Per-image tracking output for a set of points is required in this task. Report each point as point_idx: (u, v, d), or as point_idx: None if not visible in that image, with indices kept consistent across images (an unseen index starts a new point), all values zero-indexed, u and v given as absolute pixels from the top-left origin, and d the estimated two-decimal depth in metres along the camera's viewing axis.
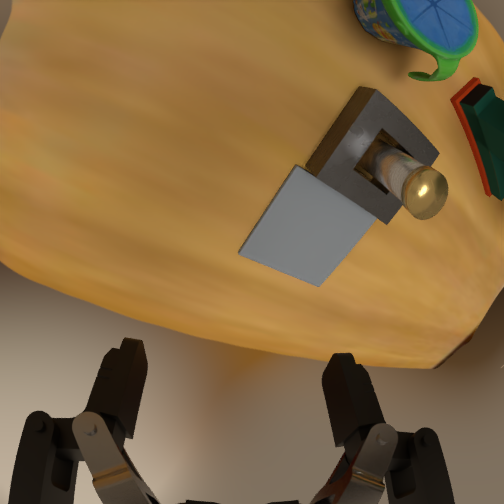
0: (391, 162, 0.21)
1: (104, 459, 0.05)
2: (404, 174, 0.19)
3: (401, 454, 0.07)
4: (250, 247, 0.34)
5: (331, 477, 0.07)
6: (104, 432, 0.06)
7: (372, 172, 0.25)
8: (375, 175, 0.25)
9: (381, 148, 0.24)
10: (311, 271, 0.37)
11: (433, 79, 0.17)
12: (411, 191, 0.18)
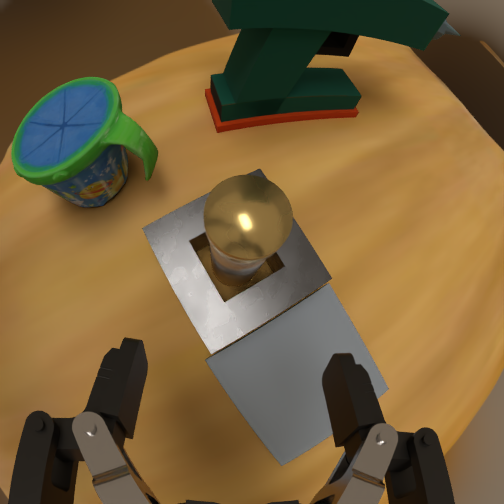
0: (212, 251, 0.17)
1: (104, 459, 0.05)
2: None
3: (401, 454, 0.07)
4: (280, 451, 0.21)
5: (331, 477, 0.07)
6: (104, 432, 0.06)
7: (237, 278, 0.20)
8: (239, 276, 0.19)
9: None
10: None
11: (140, 153, 0.19)
12: (222, 245, 0.13)
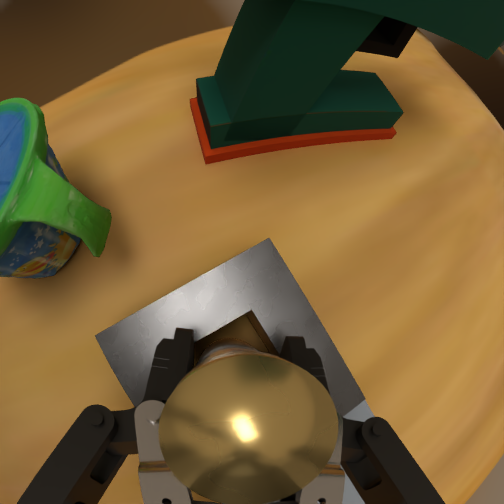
0: None
1: (158, 449, 0.06)
2: None
3: (348, 443, 0.07)
4: None
5: None
6: None
7: None
8: None
9: None
10: None
11: (72, 229, 0.11)
12: (202, 491, 0.05)
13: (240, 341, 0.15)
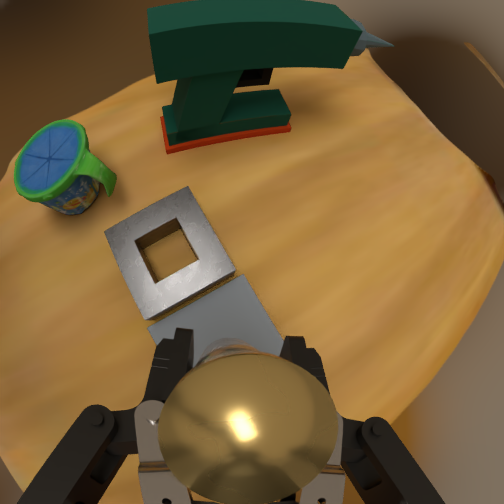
0: None
1: (158, 449, 0.06)
2: None
3: (348, 443, 0.07)
4: None
5: None
6: None
7: None
8: None
9: None
10: None
11: (100, 179, 0.26)
12: (201, 490, 0.05)
13: (240, 341, 0.15)
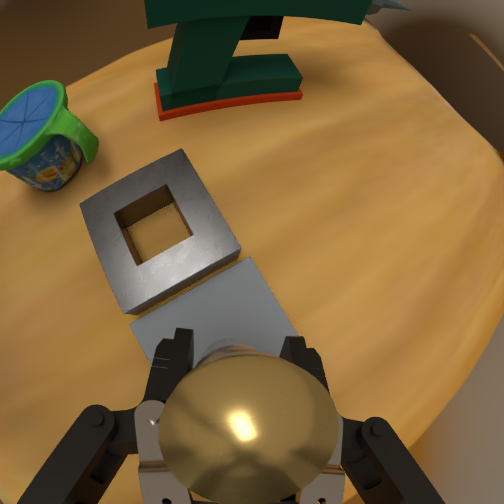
0: None
1: (158, 449, 0.06)
2: None
3: (348, 443, 0.07)
4: None
5: None
6: None
7: None
8: None
9: None
10: None
11: (77, 140, 0.20)
12: (202, 491, 0.05)
13: (240, 341, 0.15)
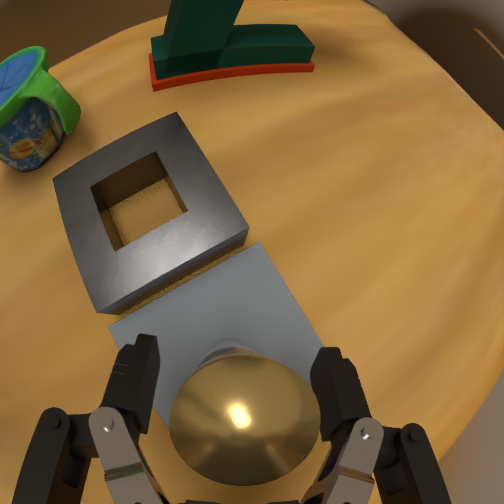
0: None
1: (118, 455, 0.06)
2: None
3: (387, 449, 0.07)
4: None
5: (319, 474, 0.07)
6: (122, 427, 0.06)
7: None
8: None
9: None
10: None
11: (54, 104, 0.14)
12: (205, 472, 0.06)
13: (238, 341, 0.16)
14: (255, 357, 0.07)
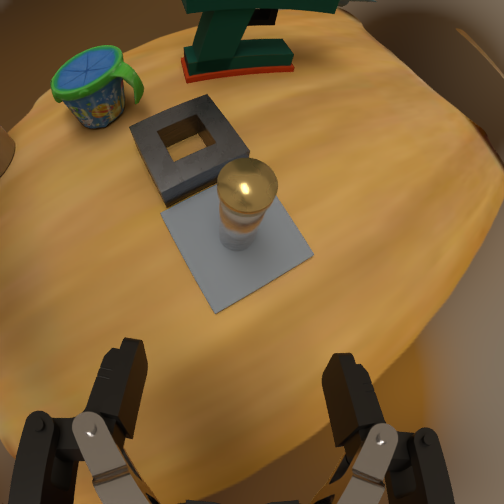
0: (221, 214, 0.23)
1: (104, 459, 0.05)
2: (222, 205, 0.21)
3: (401, 454, 0.07)
4: (214, 297, 0.29)
5: (331, 477, 0.07)
6: (104, 432, 0.06)
7: (239, 238, 0.26)
8: (241, 236, 0.26)
9: (219, 220, 0.26)
10: (285, 252, 0.31)
11: (132, 83, 0.27)
12: (229, 202, 0.19)
13: None
14: (251, 159, 0.20)
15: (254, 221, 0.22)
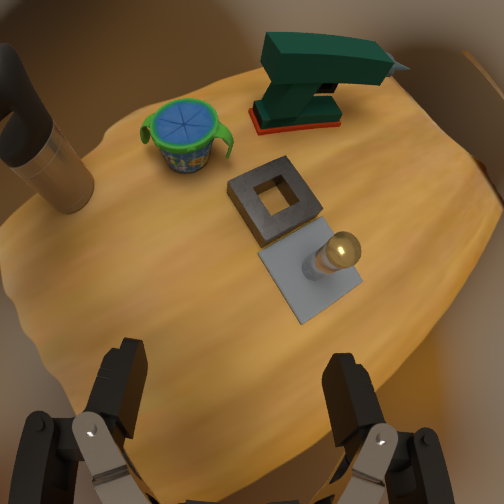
0: (319, 262, 0.36)
1: (104, 459, 0.05)
2: (327, 260, 0.34)
3: (401, 454, 0.07)
4: (300, 313, 0.42)
5: (331, 477, 0.07)
6: (104, 432, 0.06)
7: (324, 275, 0.39)
8: (327, 274, 0.38)
9: (311, 263, 0.39)
10: (345, 280, 0.44)
11: (229, 143, 0.40)
12: (337, 261, 0.32)
13: None
14: (345, 232, 0.33)
15: None
